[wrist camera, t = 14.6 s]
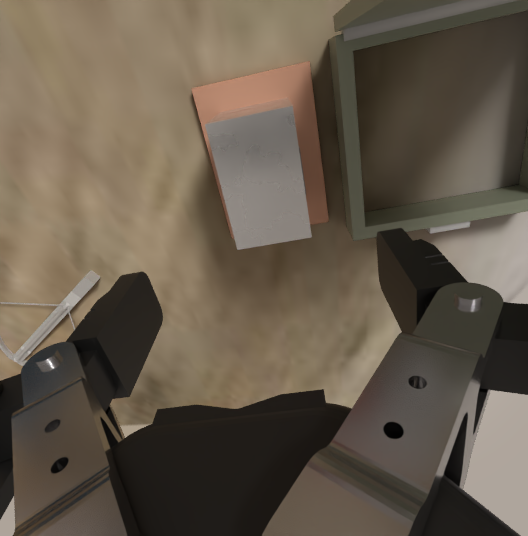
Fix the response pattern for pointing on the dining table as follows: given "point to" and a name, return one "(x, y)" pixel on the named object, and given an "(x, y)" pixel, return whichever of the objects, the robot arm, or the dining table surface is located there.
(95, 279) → the crossbow
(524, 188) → the equipment case
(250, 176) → the block
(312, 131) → the rust mat
